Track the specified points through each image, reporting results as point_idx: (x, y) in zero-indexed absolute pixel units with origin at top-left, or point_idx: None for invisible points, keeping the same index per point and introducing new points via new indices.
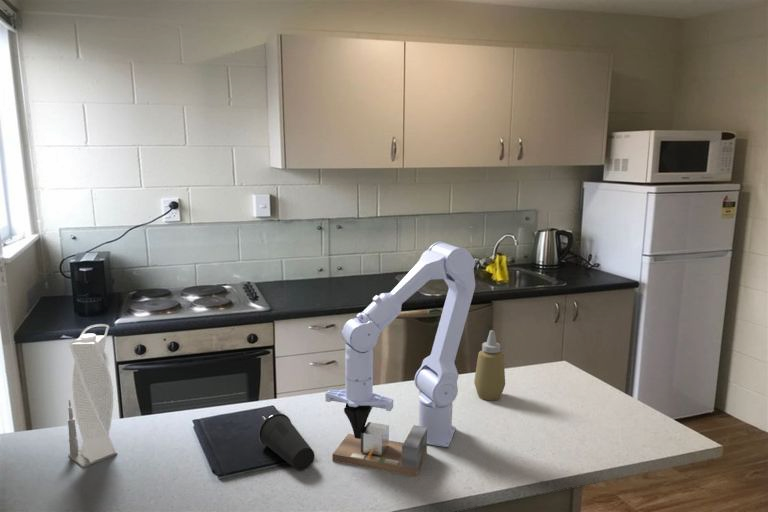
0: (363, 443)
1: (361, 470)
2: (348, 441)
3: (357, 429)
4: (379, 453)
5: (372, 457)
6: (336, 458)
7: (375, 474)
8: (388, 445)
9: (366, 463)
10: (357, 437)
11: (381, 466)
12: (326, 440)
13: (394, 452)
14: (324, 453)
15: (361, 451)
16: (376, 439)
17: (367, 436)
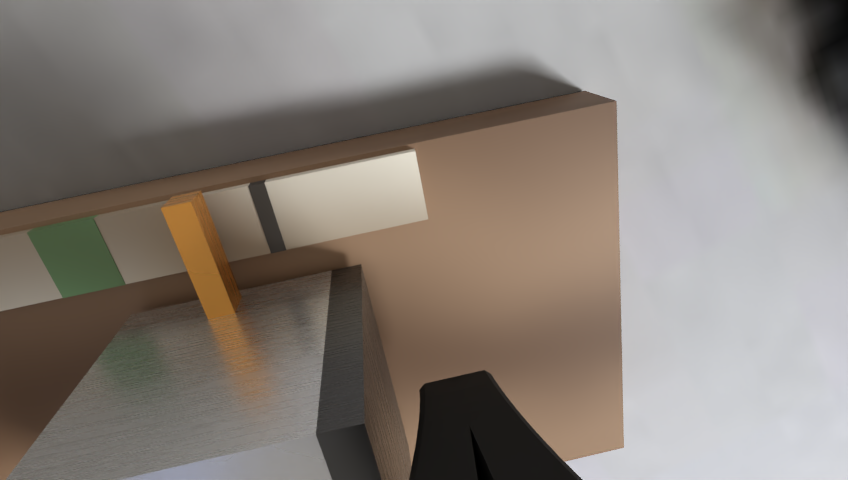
0: (326, 329)
1: (249, 85)
2: (570, 362)
3: (465, 465)
4: (145, 320)
5: None
6: (555, 103)
7: (83, 91)
8: None
9: (239, 172)
10: (453, 384)
11: (76, 203)
12: (750, 325)
13: None
14: (699, 161)
15: (351, 269)
16: (115, 431)
17: (253, 416)
